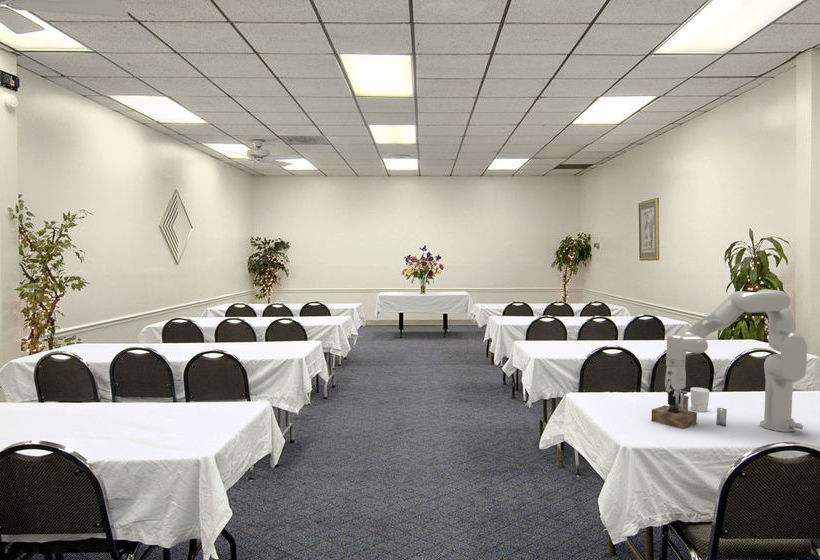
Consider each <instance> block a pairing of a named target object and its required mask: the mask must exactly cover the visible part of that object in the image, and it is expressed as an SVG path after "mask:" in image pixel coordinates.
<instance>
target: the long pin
mask: <svg viewBox="0 0 820 560" xmlns="http://www.w3.org/2000/svg"><path fill="white" fill-rule="evenodd" d="M671 389H673V388H672V387H671ZM671 391H672V392H673V390H671ZM675 397H676V405H675V406H674V405H669V404H668V406H669V412H673V413H678V402H679V390H676V392H675Z"/></svg>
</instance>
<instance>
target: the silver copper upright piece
mask: <svg viewBox="0 0 820 560" xmlns="http://www.w3.org/2000/svg"><path fill="white" fill-rule="evenodd" d="M681 395H683V410H688V411H689V398H690V396H689V395H688V391H686V390H681Z"/></svg>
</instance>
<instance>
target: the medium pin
mask: <svg viewBox="0 0 820 560" xmlns="http://www.w3.org/2000/svg"><path fill="white" fill-rule="evenodd" d="M678 408H679V409H683V395H682V394H681V400H680V404H678Z"/></svg>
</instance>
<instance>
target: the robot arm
mask: <svg viewBox="0 0 820 560" xmlns="http://www.w3.org/2000/svg"><path fill="white" fill-rule="evenodd" d="M790 304H791V298H790V296H789V294H787V292H785V291H782V290H775V289H768V288H765V289H764V288H763V289H759V290H757V291H756V292H755V291H754V292H752V291H742V290H741V291H739V290H738V291H734V292H733V293H731V294H730V295H729V296H728V297H726V298H725V299H724V300H723V301H722V302H721V303H720V304H719V305H718V306H717V307H716V308H715V309H713V311H712V312H711V313H710V314H708V315H706V316H705V317H703V318H701V319H700V320H698V321H697V322H695V323H694V324H693V325H691V327H689V328H688V329H687V330H686V331H685V332H684V333H683V335H682V334H669V335H668V336H666V358H665V365H666V370H665V378H664V385H665V387H664V388H665V391H666V393H667V405H668V406H669V405H674V406H675V405H676V397H675V392H676V390H679V402H678V404H680V400H681V395H682V394H681V391H683V389H685V388H686V386H687V381H686V380H687V374H686V373H687V372H686V355H687V354H686V353H691V354H692V353H693V354H703V353H705V352H706V351H707V350H708V347H709V344H708V341H707V340H706V339H705V338H706V337H707V336H709V335H710V334H712V333H714V332H716V331H722V330H725V329H727V328H729V327H730V326H731V325H732V324H733V323H734V322H735V321H736V320H737V319H738V318H739V317H741V315H743V314H744V313H766V315H767V318H768V341H767V342H768V346H769V347H770V348H771V349H772V350H774V351H775V352H779V353H775V354H774V353H773V354H771V355H770V354H769V356H767V357H766V358H765V361H764V363H763V369H764V370H763V371H764V375H765V376H764V377H765V388H764V389H765V390H764V391H765V392H764V394H765V395H764V413H763V414H764V417H763V420H761V421H759V426H761V427H762V428H765V429H768V430H770V431H777V432H783V433H792V432H795V431H796V429H799V430H803V429H804V424H802V423H800V422H795V419H794V418H792V416H793V415H792V414H793V413H792V411H793V410H792V409H793V392H794V388H793V386H794V385H793V382H799V381H801V380H802V379H804V377H805V375H806V372H807V365H808V364H807V363H808V362H807V359H808V346H807V345H808V344H807V341H806V339H805V338H804V337H803V335H801V334H800V333H797V332H795V331H794V319H793V318H794V317H793V313H792V310H791V308H790ZM671 387H672V388H673V389H671ZM671 390H673V392H672V391H671Z"/></svg>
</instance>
